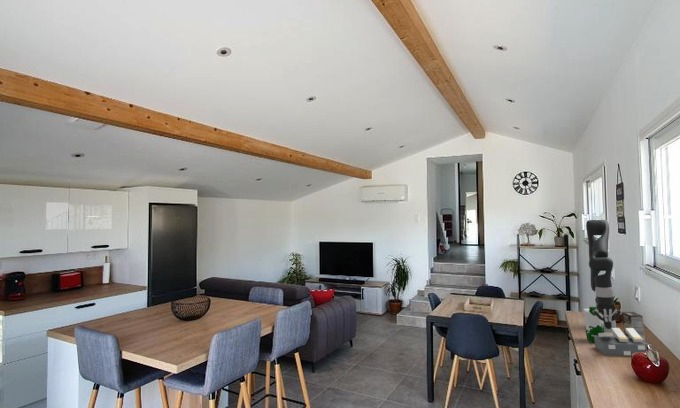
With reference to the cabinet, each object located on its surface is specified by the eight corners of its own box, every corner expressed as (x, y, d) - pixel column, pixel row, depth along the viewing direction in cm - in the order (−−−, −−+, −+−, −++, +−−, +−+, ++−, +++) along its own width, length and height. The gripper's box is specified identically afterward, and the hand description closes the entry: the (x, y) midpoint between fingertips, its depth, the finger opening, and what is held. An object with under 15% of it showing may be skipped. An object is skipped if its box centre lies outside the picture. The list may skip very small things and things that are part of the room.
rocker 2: (611, 330, 202) (611, 327, 202) (619, 330, 201) (619, 327, 201) (620, 342, 193) (620, 338, 193) (628, 342, 192) (628, 338, 192)
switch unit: (595, 347, 205) (593, 333, 206) (637, 347, 200) (635, 334, 201) (605, 355, 193) (603, 341, 193) (650, 356, 187) (648, 341, 188)
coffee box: (624, 340, 214) (620, 311, 215) (636, 339, 212) (633, 311, 213) (633, 345, 205) (629, 315, 206) (646, 345, 203) (643, 315, 204)
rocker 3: (625, 330, 201) (625, 327, 200) (632, 330, 200) (633, 327, 199) (634, 342, 191) (634, 339, 191) (642, 342, 190) (642, 339, 190)
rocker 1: (598, 336, 203) (598, 332, 204) (606, 336, 202) (605, 333, 203) (605, 336, 194) (604, 332, 195) (613, 336, 193) (612, 332, 194)
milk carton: (589, 343, 212) (585, 308, 213) (584, 338, 220) (581, 304, 221) (607, 344, 209) (603, 308, 210) (602, 339, 217) (598, 304, 218)
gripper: (615, 293, 198) (619, 326, 196) (587, 294, 201) (591, 326, 200) (622, 296, 190) (626, 330, 189) (593, 296, 194) (596, 330, 193)
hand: (608, 328), depth 195 cm, fingers closed
